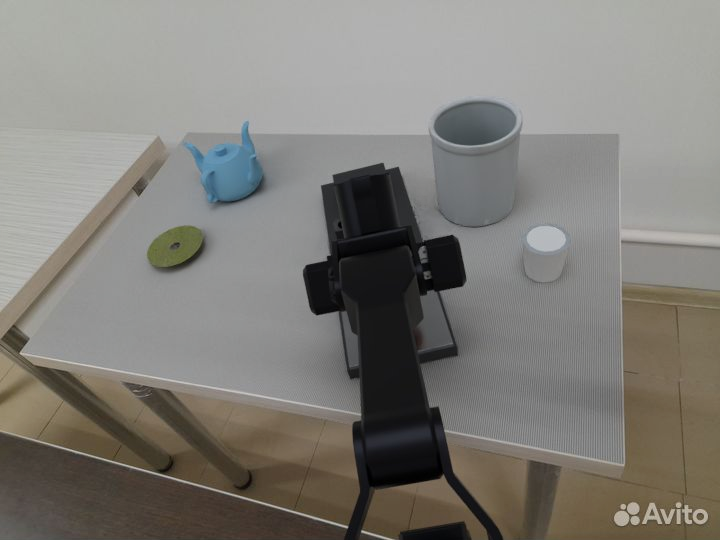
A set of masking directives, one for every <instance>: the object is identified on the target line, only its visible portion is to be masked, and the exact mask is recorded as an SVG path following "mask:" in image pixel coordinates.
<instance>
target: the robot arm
mask: <svg viewBox="0 0 720 540" xmlns="http://www.w3.org/2000/svg"><path fill="white" fill-rule="evenodd" d="M334 190H335V195H336V200H337V205H338V210H339V214H340V219H336V220H334V221H333V226H334V232H335V235H336V238H337V240H334V241H332V255H331V254H330V255H326V260H323V261H318V262H313V263H308V264H305V266H304V268H303V269H302V277H303V283H304V287H305V293H306V297H307V301H308V306H309V307H308V308H309V310H310V312H311V313H312V314H314V315H315V316H316V317H317V316H321V315H327V314H332V313H336V312H337V313H339V311H341V312H344V311H346V312H347V316H348V319H349V323H350V327H351V330H352V333H354V334H356V335H357V336H358V357H359V379H358V380H359V398H360V399H359V400H360V419H361V420H356V421H355V420H354V421H353V422H352V426H351V436H352V446H353V453H354V454H353V455H354V460H355V467H356V472H357V478H358V486H359V493H358V496H357V499H356V502H355V505H354V508H353V512H352V514H351V516H350V520H349V523H348V526H347V529H346V532H345V535H344V538H343V540H359V539H360V536H361V534H362V530H363V527H364V524H365V521H366V518H367V515H368V513H369V510H370V506H371V503H372V500H373V499H374V498H373V497H374V495H375V491H379V490H385V489H390V488H395V487H401V486H402V487H403V486H407V485H412V484H418V483H425V482H431V481H437V480H441V479H442V477H443V476H444V479H445V480H446V482H447V484H448V485H449V487H450V488H451V489H452V490H453V492H454V493H455V494H456V495H457V497H459V499H460V500H461V502H463V503H464V505H465V506H466V507H467V508H468V510H469V511H470V512H471V513H472V514H473V515H474V517H475V518H476V519H477V520H478V521H479V523H480V524H481V525H482V527H483V528H484V529H485V531H486V536H487V540H504V537H503V535H502V533H501V531H500V528H499V527H498V525H497V524H496V522H495V521H494V520H493V518H492V516H490V514H489V512H488V511H486V509H485V508H484V506H482V505H481V504H480V502H479V501H478V500H477V498H476V497H475V496H474V494H473V493H472V492H471V491H470V489H468V488H467V486H466V485H465V484H464V482H463V481H462V480H461V479H460V478H459V477H458V476H457V475H456V473H455V472H454V469H453V463H452V460H451V455H450V451H449V445H448V440H447V437H446V436H447V435H446V431H445V427H444V426H445V425H444V423H443V419H442V414H441V410H440V406H433V407H432V406H431V407H430V403H429V398H428V393H427V388H426V384H425V380H424V374H423V371H422V366H421V364H420V360H419V355H418V351H417V346H416V341H415V337H414V332H413V330H414V329H415V328H416V327H417V325H418V324H419V323H420V322H421V321H422V320H423V318H424V315H423V309H422V304H421V299H420V296H425V295H427V291H431V290H434V292H438V291H439V292H442V291H447V290H453V289H459V288H462V287H463V288H464V286H465V284H466V283H467V273H466V268H465V262H464V257H463V254H462V249H461V248H462V247H461V244H460V240H459V237H457V236H455V235H454V234H449V235H445V236H439V237H435V238H430V239H425V240H423V242H419V243H416V241H415V237H414V233H413V230H412V226H411V225H406V226H401V227H400V222H399V217H398V212H397V207H396V202H395V197H394V192H393V188H392V183H391V178H390V173H385V174H380V175H372V176H370V175H369V174H368V175H364V176H359V177H354V178H350V180H349V181H345V182H342V183H339V184H335V185H334ZM410 251H411V252H410ZM411 254H412V255H411ZM467 527H468V526H467V524H466V522H465V520H462V521H461V520H460V521H456V522H450V523H445V524H437V525H431V526H426V527H425V526H424V527H420V528H414V529H408V530H402V531H399V534H397V539H398V540H472V539H473V538H472V536H471V533H470V530H469V529H468V528H467Z"/></svg>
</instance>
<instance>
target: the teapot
mask: <svg viewBox="0 0 720 540" xmlns="http://www.w3.org/2000/svg"><path fill="white" fill-rule="evenodd" d="M249 126H250V121H249V120H246V121H245V122H244V123H243V124H242V126H241V131H240V133H241V145H239V144H237V143H234V142H225V143H220V144H216V145H215V146H214V147H212V148H211V149H210V150H209V151H207V152H206V154H205V155H203V153H201V152H202V151H200V149H198V148H197V147H196V145H194V144H193V143H190V142H183V143H182V145H183V147H185V148H186V149H188V150H189V152H190V153H191V155H192V157H193V159H194V162H195V165H196V167H197V168H198V170H199V171H200V172H201V176H200V184H201V186H202V187H203V189H204V192H205V193H206V194H207V196H206V200H207V202H208V203H209V204H215V203H217V202H218V201H220V202H235V201H239V200H242V199H244V198H246V197H248V196H250V195H251V194H253V193H254V192H255V191H256V190H257V188H258V187H259V185H260V183H261V181H262V179H263V176H264V169H263V166H262V165H261V163H260V162H259V160H258V159H257V157H258V155H259V153H256V148H255V145H254V143H253V141H252V138H251V136H250V133H249Z"/></svg>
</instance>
